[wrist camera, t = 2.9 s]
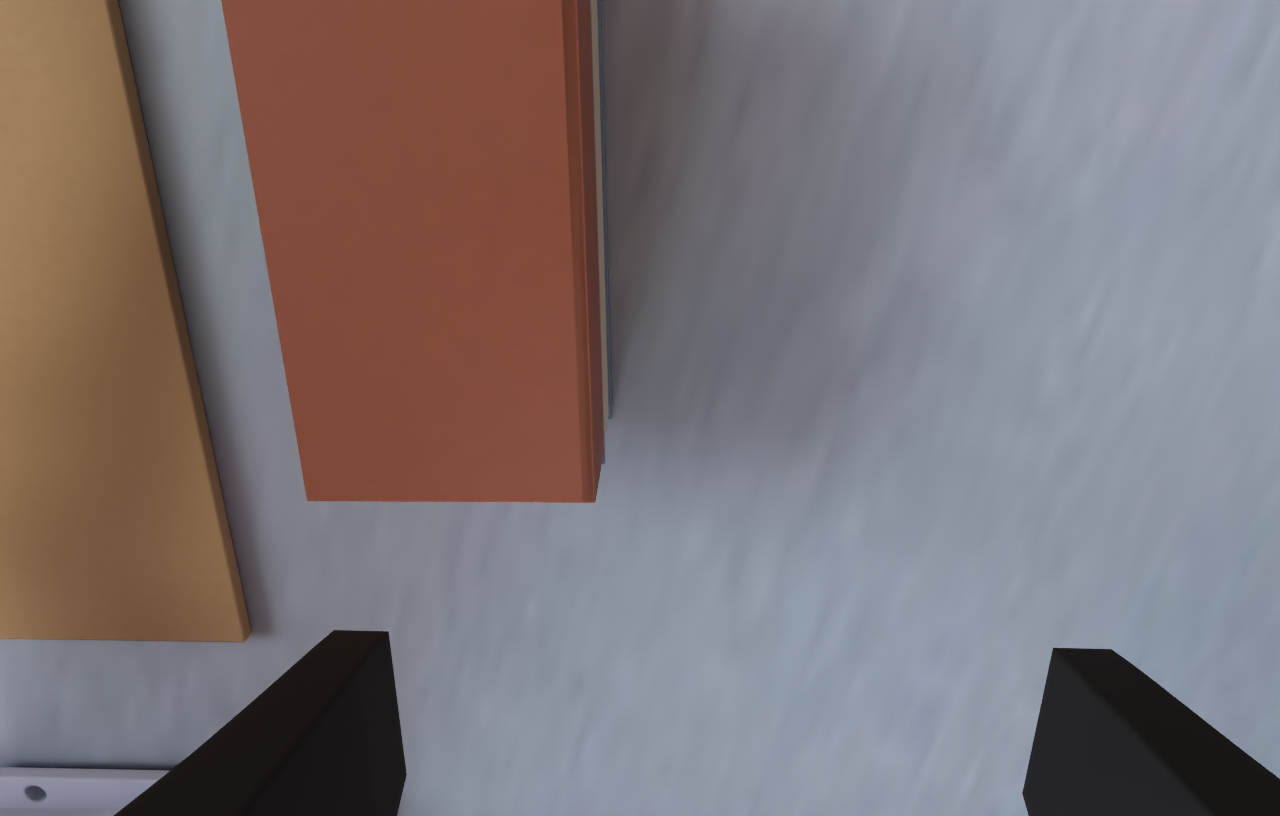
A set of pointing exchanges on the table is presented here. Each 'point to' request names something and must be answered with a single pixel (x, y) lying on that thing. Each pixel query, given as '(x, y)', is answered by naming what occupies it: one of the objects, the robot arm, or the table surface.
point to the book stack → (434, 240)
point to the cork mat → (96, 359)
